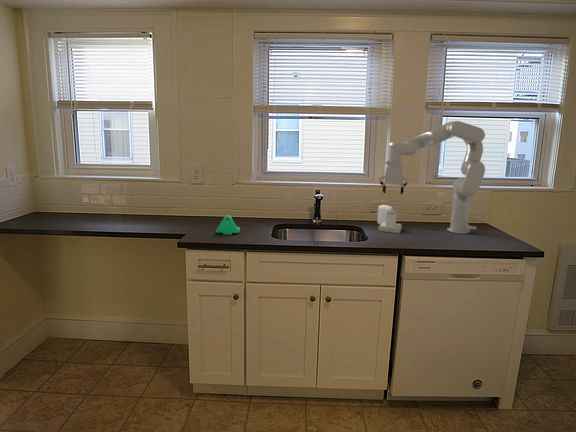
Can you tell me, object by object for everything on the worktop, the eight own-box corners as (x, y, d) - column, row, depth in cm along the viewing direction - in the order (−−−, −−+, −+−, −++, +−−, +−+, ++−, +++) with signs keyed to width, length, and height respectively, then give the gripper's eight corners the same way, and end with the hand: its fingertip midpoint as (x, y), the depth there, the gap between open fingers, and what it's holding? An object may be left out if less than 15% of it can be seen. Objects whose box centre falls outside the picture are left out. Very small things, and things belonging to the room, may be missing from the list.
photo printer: (376, 223, 259) (377, 204, 256) (380, 222, 261) (381, 203, 259) (389, 226, 251) (390, 206, 248) (393, 225, 254) (395, 206, 251)
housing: (394, 226, 236) (395, 213, 235) (385, 225, 238) (386, 212, 237) (395, 224, 244) (396, 210, 242) (387, 223, 246) (388, 210, 244)
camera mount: (240, 231, 232) (239, 213, 230) (238, 234, 224) (237, 216, 222) (219, 231, 232) (218, 213, 230) (216, 234, 225) (216, 216, 222)
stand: (401, 228, 245) (401, 223, 244) (399, 233, 234) (399, 228, 233) (381, 226, 249) (381, 222, 249) (378, 231, 238) (378, 226, 238)
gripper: (378, 163, 233) (376, 193, 237) (409, 165, 227) (407, 195, 231) (380, 163, 240) (378, 191, 244) (410, 164, 234) (408, 193, 238)
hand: (392, 193), depth 237 cm, fingers open, 9 cm apart
